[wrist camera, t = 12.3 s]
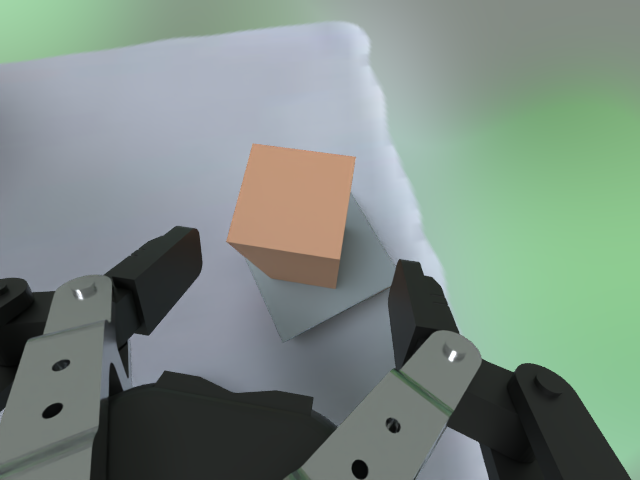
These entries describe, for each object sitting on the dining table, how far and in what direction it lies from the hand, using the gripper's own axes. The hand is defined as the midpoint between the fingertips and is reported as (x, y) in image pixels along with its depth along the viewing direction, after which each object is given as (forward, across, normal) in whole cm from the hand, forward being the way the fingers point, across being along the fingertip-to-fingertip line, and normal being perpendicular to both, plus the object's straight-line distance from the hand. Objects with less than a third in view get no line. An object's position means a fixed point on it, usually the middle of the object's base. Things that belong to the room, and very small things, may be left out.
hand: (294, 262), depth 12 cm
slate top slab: (+12, 0, +7) cm, 14 cm away
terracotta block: (+10, 0, +5) cm, 11 cm away
